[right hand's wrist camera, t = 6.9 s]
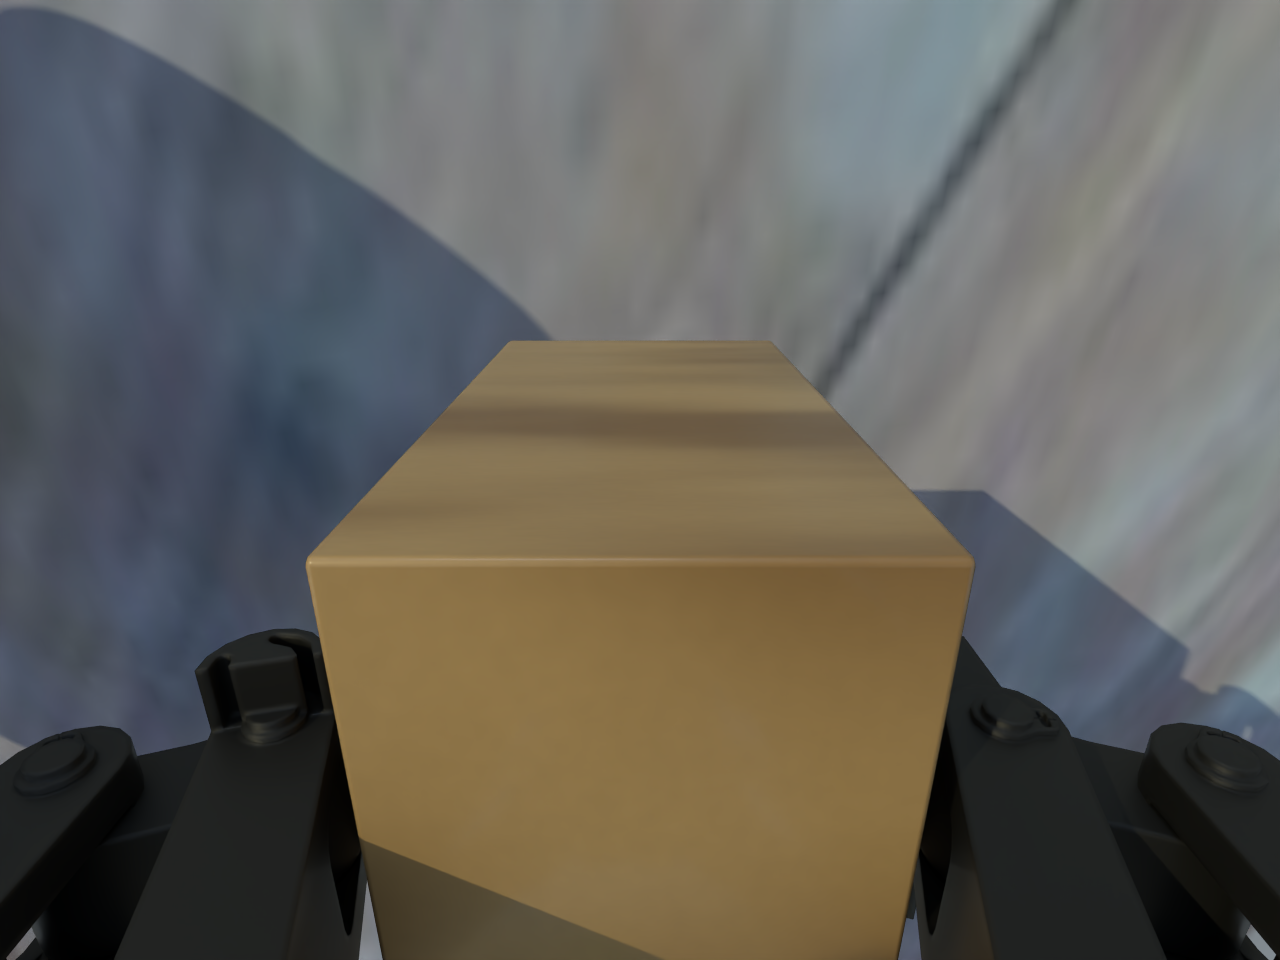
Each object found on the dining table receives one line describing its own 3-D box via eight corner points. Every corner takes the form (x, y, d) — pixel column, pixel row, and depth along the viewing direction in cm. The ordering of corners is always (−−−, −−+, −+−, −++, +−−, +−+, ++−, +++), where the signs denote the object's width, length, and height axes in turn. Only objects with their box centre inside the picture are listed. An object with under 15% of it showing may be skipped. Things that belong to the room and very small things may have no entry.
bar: (508, 339, 14) (299, 558, 5) (772, 340, 14) (980, 560, 5) (556, 1049, 22) (503, 1585, 13) (723, 1049, 22) (776, 1585, 13)
